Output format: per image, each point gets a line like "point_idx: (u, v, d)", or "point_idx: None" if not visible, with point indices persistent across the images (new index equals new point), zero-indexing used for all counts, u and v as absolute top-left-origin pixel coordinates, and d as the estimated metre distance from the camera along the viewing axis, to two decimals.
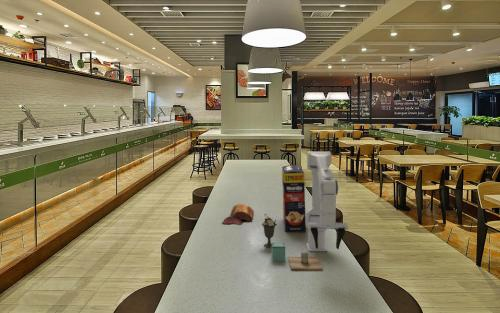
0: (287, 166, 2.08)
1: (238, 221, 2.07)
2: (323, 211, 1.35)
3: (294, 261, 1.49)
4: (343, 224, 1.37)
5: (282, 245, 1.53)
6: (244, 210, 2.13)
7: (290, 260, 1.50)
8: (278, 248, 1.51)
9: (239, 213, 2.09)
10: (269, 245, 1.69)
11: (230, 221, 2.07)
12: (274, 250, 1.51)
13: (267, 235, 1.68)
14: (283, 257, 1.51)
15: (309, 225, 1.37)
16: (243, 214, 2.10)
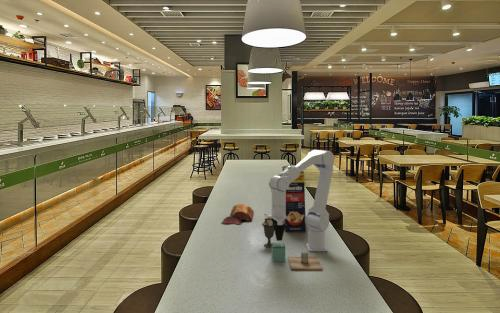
0: (287, 166, 2.08)
1: (237, 221, 2.07)
2: None
3: (294, 261, 1.49)
4: (279, 219, 1.47)
5: (282, 245, 1.53)
6: (244, 210, 2.13)
7: (290, 260, 1.50)
8: (278, 248, 1.51)
9: (239, 213, 2.09)
10: (269, 245, 1.69)
11: (229, 221, 2.07)
12: (274, 250, 1.51)
13: (267, 235, 1.68)
14: (283, 257, 1.51)
15: None
16: (243, 214, 2.09)
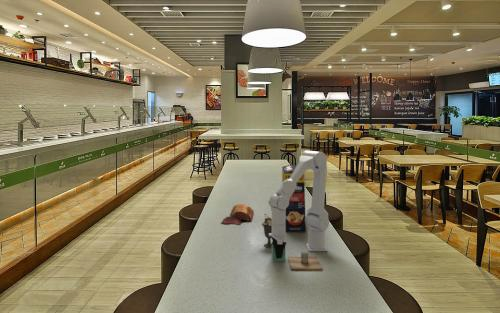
0: (287, 166, 2.08)
1: (237, 221, 2.07)
2: None
3: (294, 261, 1.49)
4: (279, 238, 1.47)
5: None
6: (243, 210, 2.12)
7: (290, 260, 1.50)
8: None
9: (238, 213, 2.09)
10: (269, 245, 1.69)
11: (229, 221, 2.07)
12: (274, 250, 1.51)
13: (267, 235, 1.68)
14: (283, 257, 1.51)
15: None
16: (242, 214, 2.09)
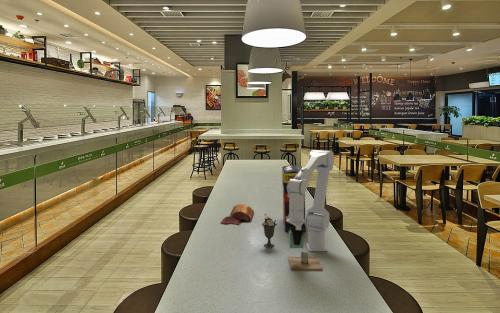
0: (287, 166, 2.08)
1: (236, 221, 2.07)
2: (289, 207, 1.47)
3: (294, 261, 1.49)
4: (297, 224, 1.43)
5: None
6: (243, 210, 2.12)
7: (290, 260, 1.50)
8: None
9: (238, 213, 2.09)
10: (269, 245, 1.69)
11: (228, 221, 2.07)
12: (291, 237, 1.46)
13: (267, 235, 1.68)
14: (301, 244, 1.47)
15: None
16: (242, 214, 2.09)
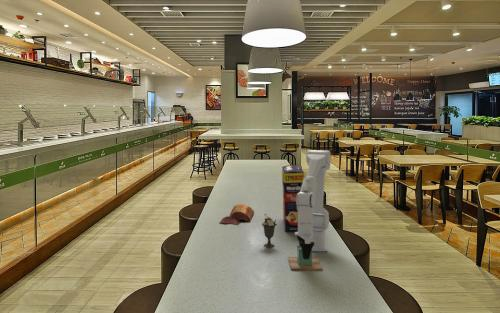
0: (287, 166, 2.08)
1: (235, 221, 2.07)
2: (299, 220, 1.45)
3: (294, 261, 1.49)
4: (306, 237, 1.41)
5: None
6: (242, 210, 2.12)
7: (290, 260, 1.50)
8: None
9: (237, 213, 2.09)
10: (269, 245, 1.69)
11: (228, 221, 2.07)
12: (300, 253, 1.45)
13: (267, 235, 1.68)
14: (310, 261, 1.45)
15: None
16: (241, 214, 2.09)
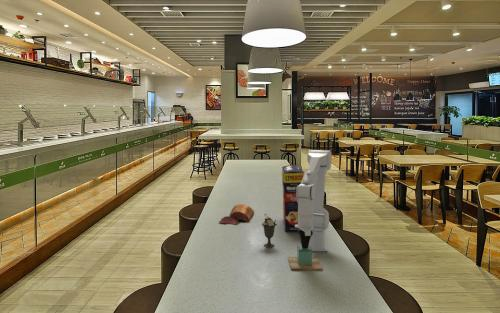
0: (287, 166, 2.08)
1: (235, 221, 2.07)
2: (299, 213, 1.45)
3: (294, 261, 1.49)
4: (307, 230, 1.41)
5: (308, 248, 1.47)
6: (242, 210, 2.12)
7: (290, 260, 1.50)
8: (304, 251, 1.45)
9: (236, 213, 2.09)
10: (269, 245, 1.69)
11: (227, 221, 2.08)
12: (300, 253, 1.45)
13: (267, 235, 1.68)
14: (310, 261, 1.45)
15: None
16: (240, 214, 2.09)
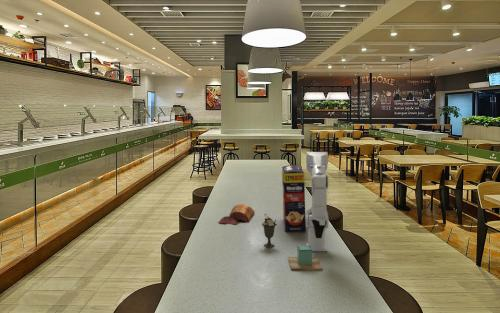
0: (287, 166, 2.08)
1: (234, 221, 2.07)
2: (314, 204, 1.47)
3: (294, 261, 1.49)
4: (321, 219, 1.44)
5: (308, 248, 1.47)
6: (242, 210, 2.12)
7: (290, 260, 1.50)
8: (304, 251, 1.45)
9: (236, 213, 2.09)
10: (269, 245, 1.69)
11: (226, 221, 2.08)
12: (300, 253, 1.45)
13: (267, 235, 1.68)
14: (310, 261, 1.45)
15: None
16: (240, 214, 2.09)
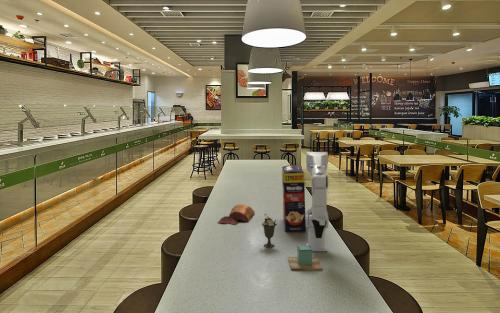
0: (287, 166, 2.08)
1: (234, 221, 2.07)
2: (314, 204, 1.47)
3: (294, 261, 1.49)
4: (321, 219, 1.44)
5: (308, 248, 1.47)
6: (241, 210, 2.12)
7: (290, 260, 1.50)
8: (304, 251, 1.45)
9: (235, 213, 2.09)
10: (269, 245, 1.69)
11: (226, 221, 2.08)
12: (300, 253, 1.45)
13: (267, 235, 1.68)
14: (310, 261, 1.45)
15: None
16: (239, 214, 2.09)
